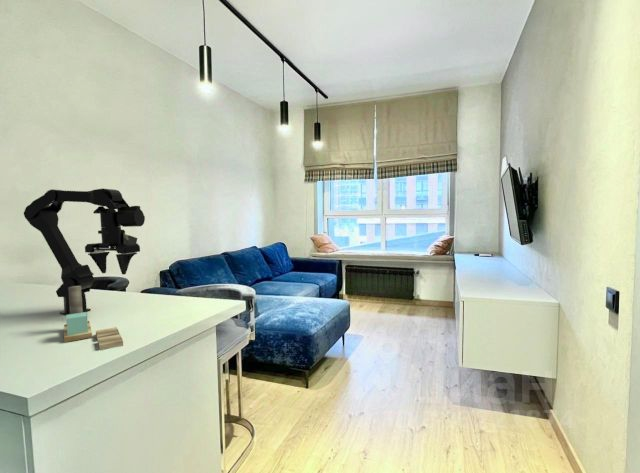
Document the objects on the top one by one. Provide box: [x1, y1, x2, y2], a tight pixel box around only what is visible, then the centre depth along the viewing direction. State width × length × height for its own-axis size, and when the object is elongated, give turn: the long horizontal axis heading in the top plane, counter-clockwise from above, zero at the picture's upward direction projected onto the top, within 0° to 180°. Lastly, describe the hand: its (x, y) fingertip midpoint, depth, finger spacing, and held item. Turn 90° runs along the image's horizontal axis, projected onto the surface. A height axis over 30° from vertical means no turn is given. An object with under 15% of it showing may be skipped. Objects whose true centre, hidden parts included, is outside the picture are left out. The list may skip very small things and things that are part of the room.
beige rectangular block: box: [95, 326, 124, 351], centre depth 92 cm, size 14×5×1 cm, turn 36°
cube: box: [65, 311, 89, 336], centre depth 95 cm, size 4×4×4 cm
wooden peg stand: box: [63, 286, 93, 343], centre depth 98 cm, size 14×6×12 cm, turn 36°
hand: (113, 273), depth 118 cm, fingers open, 9 cm apart
